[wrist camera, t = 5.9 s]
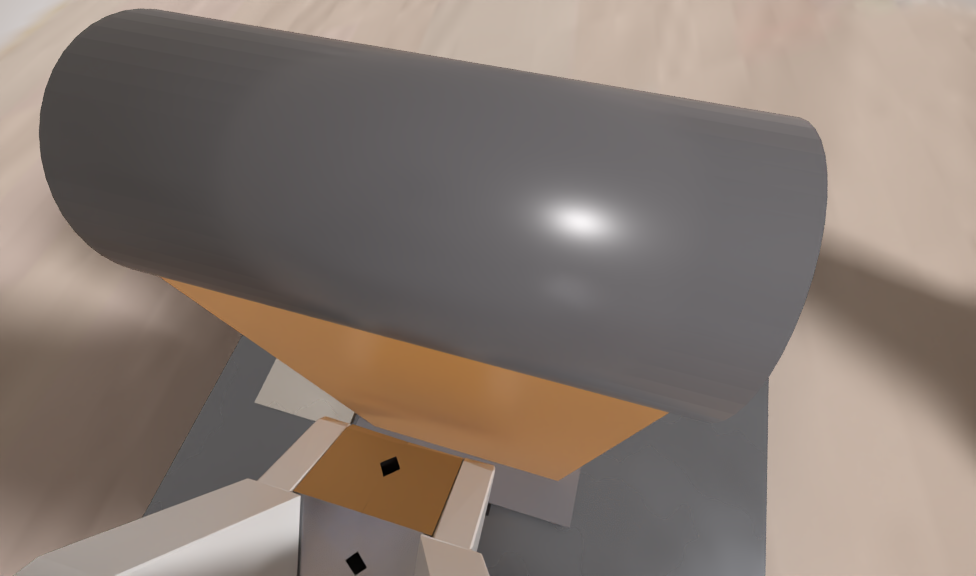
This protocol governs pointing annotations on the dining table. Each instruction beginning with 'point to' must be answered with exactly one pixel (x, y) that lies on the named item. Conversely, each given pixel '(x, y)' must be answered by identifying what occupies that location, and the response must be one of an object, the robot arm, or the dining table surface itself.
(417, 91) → the handle
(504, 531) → the grey slotted base
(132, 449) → the dining table surface
